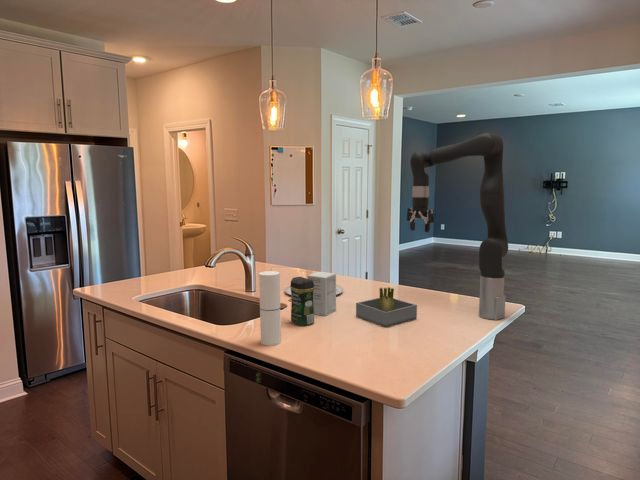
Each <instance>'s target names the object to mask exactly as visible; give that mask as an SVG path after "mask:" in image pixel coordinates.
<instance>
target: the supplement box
mask: <svg viewBox="0 0 640 480" xmlns="http://www.w3.org/2000/svg"><path fill="white" fill-rule="evenodd" d="M306 279H310V280H312V281H313V282H314V291H313V306H314V315H318V316H322V317H328V315H330V314H332V313H334V312H336V311H337V295H336V285H337V274H336V273H335V272H334V273H333V272H328V271H327V272H325V271H316V272H314V273H311V274H307V277H306Z"/></svg>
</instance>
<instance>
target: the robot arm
mask: <svg viewBox="0 0 640 480" xmlns="http://www.w3.org/2000/svg"><path fill="white" fill-rule="evenodd" d="M473 156H474V157H475V156H477V157H478V156H479V157H480V156H481V157H483V163H484V172H483V177H482V179H481V182H480V186H479V203H480V208H481V212H482V215H483V217H484V220H485V222H486V228H487V238H485V239H484V240H482V242H481V243H480V246H479V249H478V250H479V251H478V252H479V253H478V262H479V263H478V269H479V271H480V276H479V277H480V278H479V279H480V280H479V281H480V282H479V297H478V299H479V300H478V301H479V303H478V316H479V317H480V318H482V319H487V320H493V319H494V321H498V320H501V319H503V318H505V317H506V314H505V313H506V295H505V294H504V289H505V274H506V273H505V269H504V268H503V265H502V264H503V258H505V256H506V255H507V254H508V252H509V241H508V235H507V229H506V209H505V208H506V207H505V190H504V189H505V188H504V174H503V158H504V157H503V156H504V142H503V139H502V137H501V136H500V135H498V134H496V133H490V132H484V133H480V134H479V135H477V136H474V137H472V138H469V139H467V140H465V141H462V142H458V143H453V144H449V145H445V146H440V147H437V148H433V149H432V150H430V151H415V152H413V153H412V154H411V157H410V160H409V161H410V168H411V173H412V191H411V194H412V195H411V197H412V198H411V206H412V207H408V208H407V211H406V212H407V213H406V221H407V222H409V223H410V224H409V228H410V229H409V230H410V231H415V230H416V221H417V219H421V220H423V223H425V224H424V233H429V232H430V231H431V229H430V228H431V224H433V223H435V215H434V214H435V213H434V212H435V211H434V210H435V209H433V208H432V209H429V206H430V201H429V200H430V188H429V187H430V184H429V183H430V176H429V174H428V173H427V172H426V171H425V168H430V167H433V166H436V165H441V164H446V163H451V162H454V161H457V160H459V159H461V158H465V157H473Z"/></svg>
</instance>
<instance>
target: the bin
mask: <svg viewBox="0 0 640 480" xmlns="http://www.w3.org/2000/svg"><path fill="white" fill-rule="evenodd" d="M379 299H380V297H376V298H372V299H368V300H363V301H359V302H358V301H357V302H356V303H355V317H356V318H358V319H361V320H364V321H366V322H369V323H372V324H374V325H378V326H380V327H382V328H385V329H387V328H390V327H393V326H397V325H401V324H404V323H407V322H408V323H409V322H412V321H415V320H417V317H418V315H417V314H418V310H417V309H418V305H417V304H415V303H412V302H407V301H404V300H400V299H397V298H394V297H393V299H394V310H392V311H388V312H385V311H382V310H380V308H379Z"/></svg>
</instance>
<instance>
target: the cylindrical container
mask: <svg viewBox="0 0 640 480" xmlns="http://www.w3.org/2000/svg"><path fill="white" fill-rule="evenodd" d="M258 282H259V283H258V284H259V287H258V288H259V321H260V325H259V327H260V328H259V330H260V344H261V345H263V346H266V347H267V346H269V347H270V346H271V347H272V346H277V345H280V344H281V342H282V331H281V330H282V329H281V328H282V325H281V323H282V321H281V320H282V319H281V274H280V271H275V270H266V271H261V272H259V273H258Z"/></svg>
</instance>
